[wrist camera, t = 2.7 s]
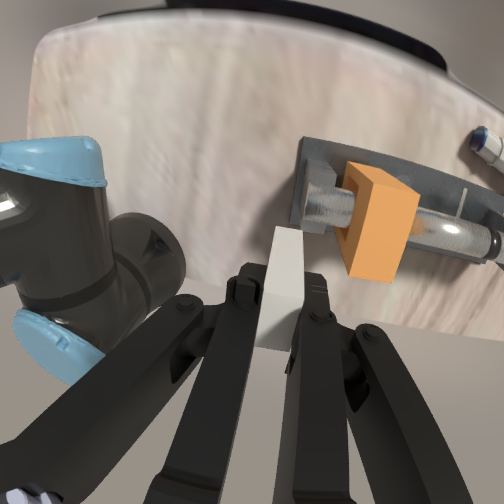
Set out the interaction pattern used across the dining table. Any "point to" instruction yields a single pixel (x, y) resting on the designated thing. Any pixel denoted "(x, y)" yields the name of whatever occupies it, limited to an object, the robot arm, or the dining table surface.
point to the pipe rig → (428, 210)
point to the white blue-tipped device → (488, 147)
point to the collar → (376, 223)
